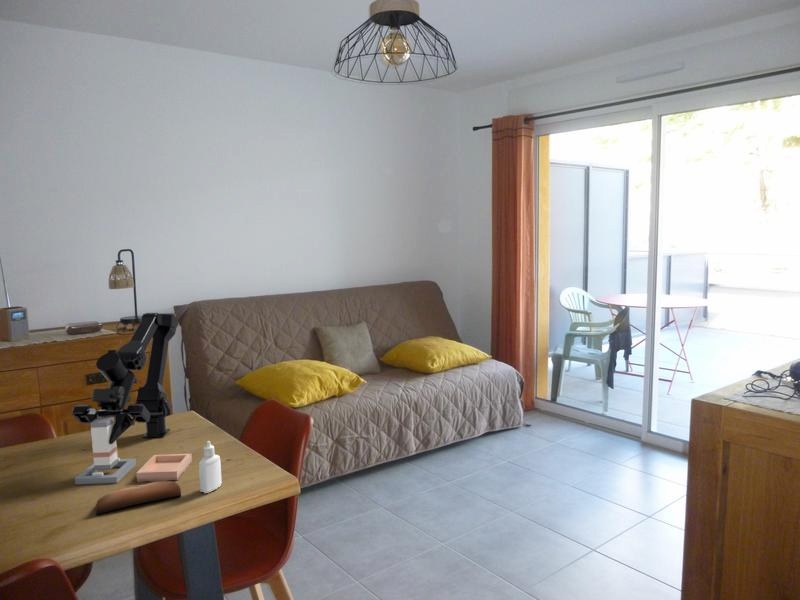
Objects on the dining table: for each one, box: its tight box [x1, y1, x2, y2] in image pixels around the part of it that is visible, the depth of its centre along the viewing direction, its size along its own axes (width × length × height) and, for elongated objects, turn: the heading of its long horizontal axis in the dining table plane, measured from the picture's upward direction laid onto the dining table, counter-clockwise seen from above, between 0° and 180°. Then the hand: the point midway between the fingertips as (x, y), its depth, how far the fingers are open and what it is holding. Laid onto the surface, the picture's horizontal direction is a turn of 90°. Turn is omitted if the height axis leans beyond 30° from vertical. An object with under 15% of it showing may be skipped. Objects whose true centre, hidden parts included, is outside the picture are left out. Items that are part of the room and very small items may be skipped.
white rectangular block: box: [89, 417, 119, 471], centre depth 151 cm, size 5×4×12 cm
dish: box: [135, 453, 193, 483], centre depth 153 cm, size 12×10×2 cm
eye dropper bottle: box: [198, 440, 223, 494], centre depth 141 cm, size 4×6×12 cm
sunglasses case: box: [95, 481, 182, 515], centre depth 137 cm, size 18×7×7 cm
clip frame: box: [74, 457, 137, 485], centre depth 152 cm, size 12×10×2 cm
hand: (101, 443), depth 150 cm, fingers closed on white rectangular block, 4 cm apart
